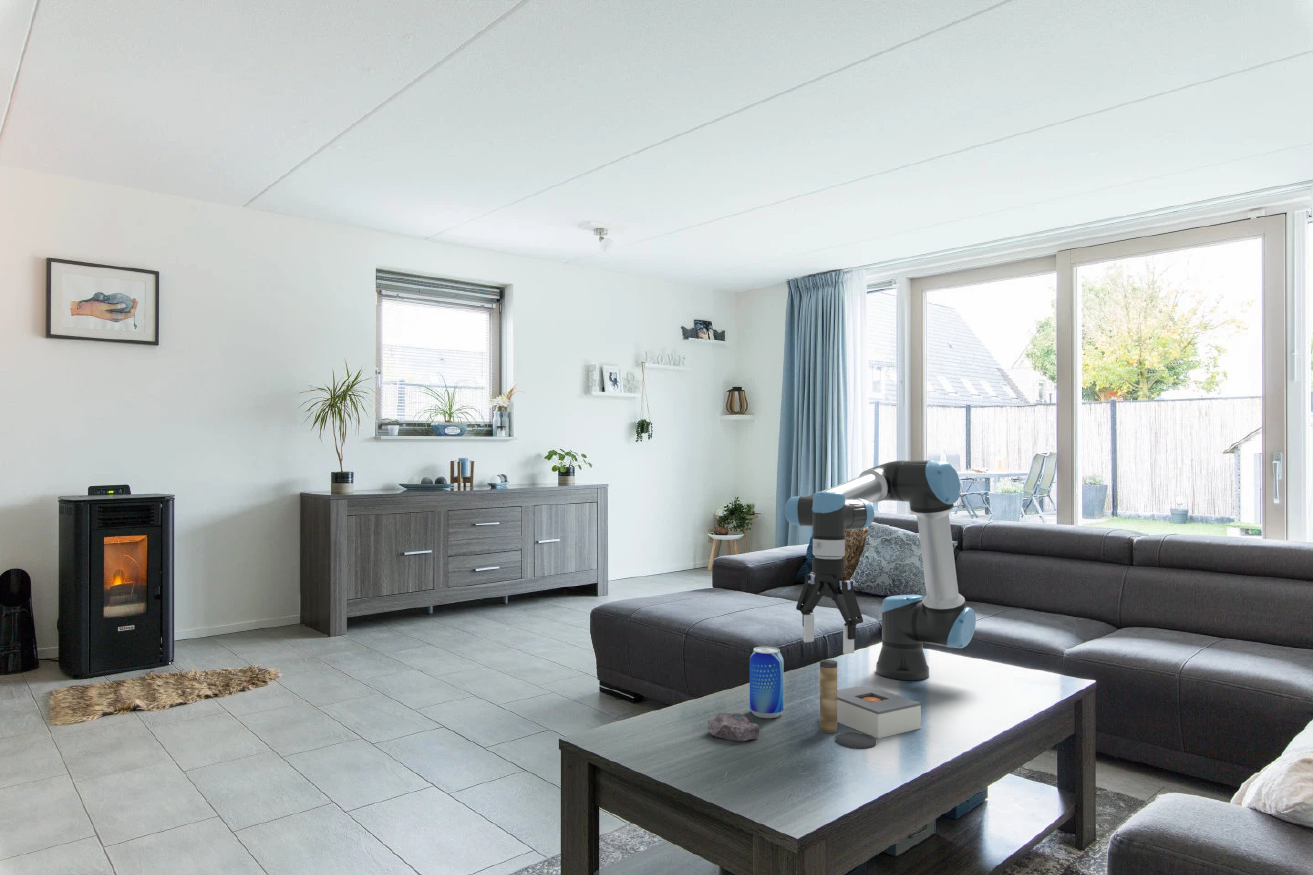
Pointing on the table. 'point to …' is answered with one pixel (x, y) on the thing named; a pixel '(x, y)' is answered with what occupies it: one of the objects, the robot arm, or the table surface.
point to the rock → (733, 727)
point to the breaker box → (877, 711)
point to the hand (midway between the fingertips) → (828, 647)
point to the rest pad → (856, 740)
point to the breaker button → (871, 699)
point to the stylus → (828, 696)
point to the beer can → (766, 682)
